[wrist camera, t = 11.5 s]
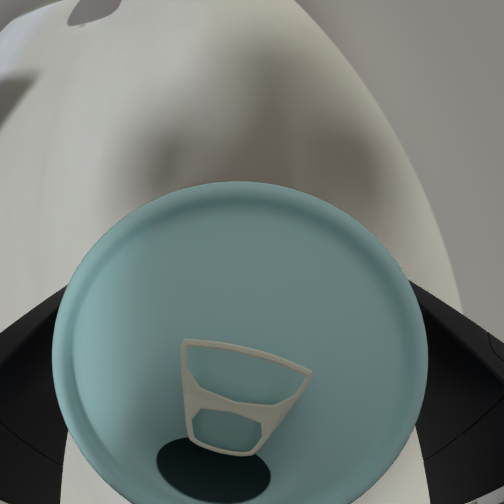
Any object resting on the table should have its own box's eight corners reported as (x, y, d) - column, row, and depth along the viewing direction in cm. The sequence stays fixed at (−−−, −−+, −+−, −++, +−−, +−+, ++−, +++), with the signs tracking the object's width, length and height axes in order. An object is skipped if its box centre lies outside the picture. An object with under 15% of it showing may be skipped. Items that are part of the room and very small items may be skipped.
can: (322, 366, 15) (481, 443, 3) (205, 412, 14) (144, 571, 2) (275, 252, 16) (350, 101, 4) (158, 297, 15) (-8, 243, 3)
